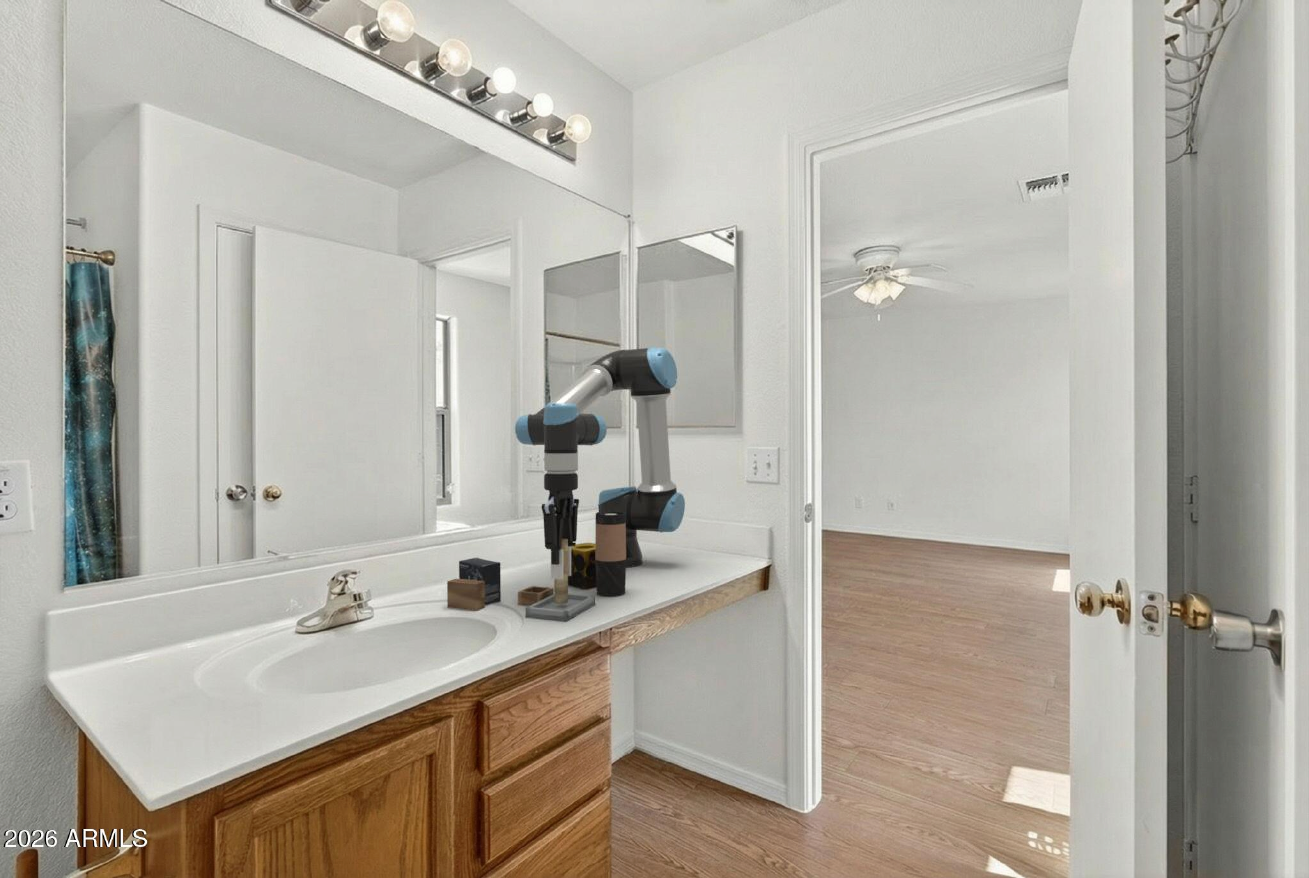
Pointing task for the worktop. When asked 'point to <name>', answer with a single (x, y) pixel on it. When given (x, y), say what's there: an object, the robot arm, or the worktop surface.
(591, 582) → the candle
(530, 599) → the socket
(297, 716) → the worktop surface
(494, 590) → the box
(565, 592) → the dowel
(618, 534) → the travel mug
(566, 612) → the tray
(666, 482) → the robot arm
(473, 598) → the wooden block
